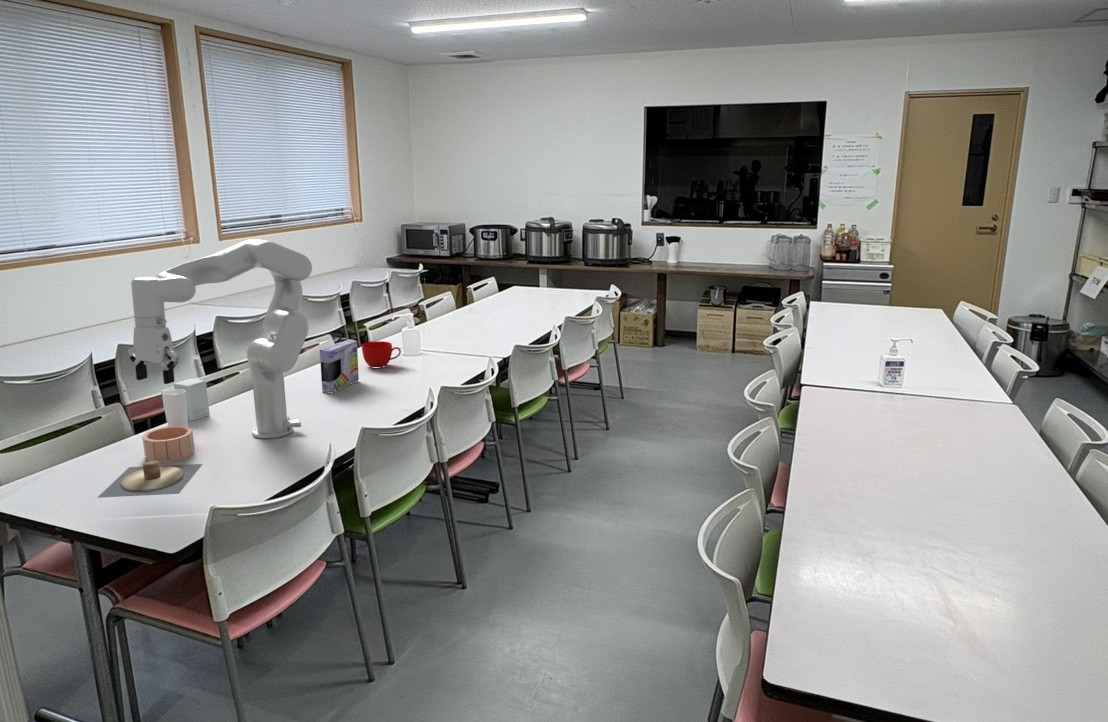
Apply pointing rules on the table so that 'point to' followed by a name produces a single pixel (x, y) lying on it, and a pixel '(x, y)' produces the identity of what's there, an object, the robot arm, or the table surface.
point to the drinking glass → (176, 407)
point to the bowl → (168, 444)
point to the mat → (175, 488)
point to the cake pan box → (339, 365)
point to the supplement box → (195, 397)
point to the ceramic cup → (378, 353)
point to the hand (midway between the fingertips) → (155, 380)
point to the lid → (152, 477)
